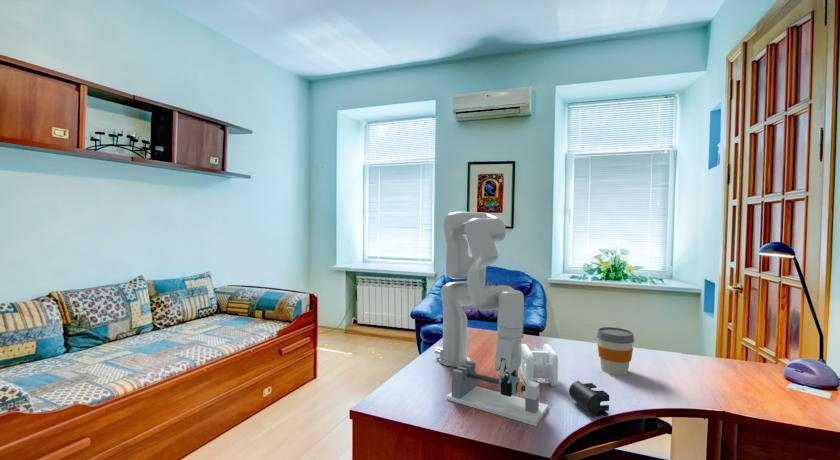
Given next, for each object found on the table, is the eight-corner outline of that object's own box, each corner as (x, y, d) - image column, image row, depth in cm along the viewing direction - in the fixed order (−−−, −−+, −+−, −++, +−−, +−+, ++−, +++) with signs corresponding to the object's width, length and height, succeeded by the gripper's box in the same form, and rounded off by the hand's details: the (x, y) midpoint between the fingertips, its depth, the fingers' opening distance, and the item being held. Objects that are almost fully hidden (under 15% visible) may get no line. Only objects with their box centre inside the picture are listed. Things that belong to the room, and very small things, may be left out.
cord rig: (446, 399, 123) (446, 370, 123) (464, 386, 133) (464, 359, 133) (535, 426, 108) (536, 392, 108) (548, 409, 118) (548, 378, 118)
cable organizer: (558, 391, 131) (559, 356, 131) (526, 389, 132) (526, 355, 131) (547, 373, 146) (548, 342, 146) (518, 372, 147) (518, 341, 146)
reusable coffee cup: (596, 373, 146) (597, 333, 146) (595, 362, 158) (596, 325, 158) (635, 379, 142) (636, 337, 141) (631, 367, 153) (632, 329, 153)
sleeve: (498, 391, 118) (498, 378, 118) (503, 386, 121) (503, 373, 121) (514, 395, 115) (515, 382, 115) (519, 390, 119) (519, 377, 119)
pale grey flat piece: (567, 361, 161) (567, 358, 161) (515, 367, 155) (515, 364, 155) (533, 343, 185) (533, 340, 185) (487, 347, 179) (487, 345, 179)
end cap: (568, 402, 123) (568, 381, 122) (589, 401, 124) (589, 379, 124) (587, 418, 113) (588, 395, 113) (610, 416, 114) (610, 393, 114)
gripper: (508, 323, 127) (507, 380, 127) (487, 336, 113) (485, 399, 113) (531, 327, 123) (530, 386, 123) (512, 340, 109) (511, 406, 109)
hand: (509, 391), depth 118 cm, fingers closed on sleeve, 4 cm apart
